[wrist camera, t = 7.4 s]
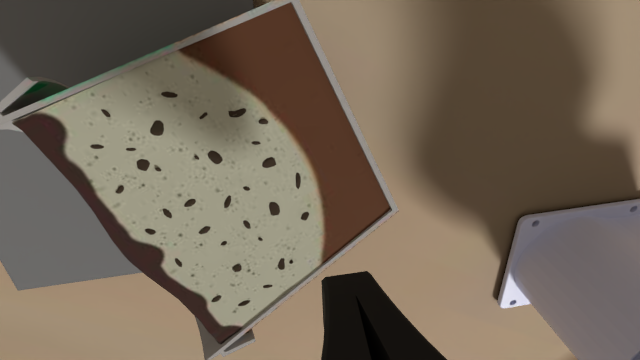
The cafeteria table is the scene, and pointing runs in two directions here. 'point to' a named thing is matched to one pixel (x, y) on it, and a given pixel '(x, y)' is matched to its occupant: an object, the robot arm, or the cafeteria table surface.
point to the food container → (217, 165)
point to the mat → (71, 69)
